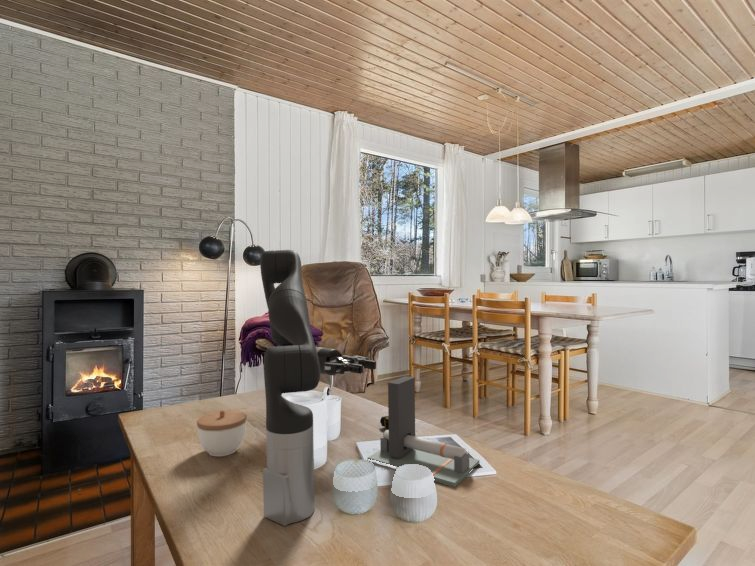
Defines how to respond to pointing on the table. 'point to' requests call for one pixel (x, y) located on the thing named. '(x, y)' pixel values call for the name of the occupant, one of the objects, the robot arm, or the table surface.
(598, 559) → the table surface
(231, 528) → the table surface
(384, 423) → the tape measure
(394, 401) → the dark grey upright pillar
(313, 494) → the robot arm
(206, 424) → the lidded bowl
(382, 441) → the pipe stand
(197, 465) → the table surface
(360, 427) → the table surface
